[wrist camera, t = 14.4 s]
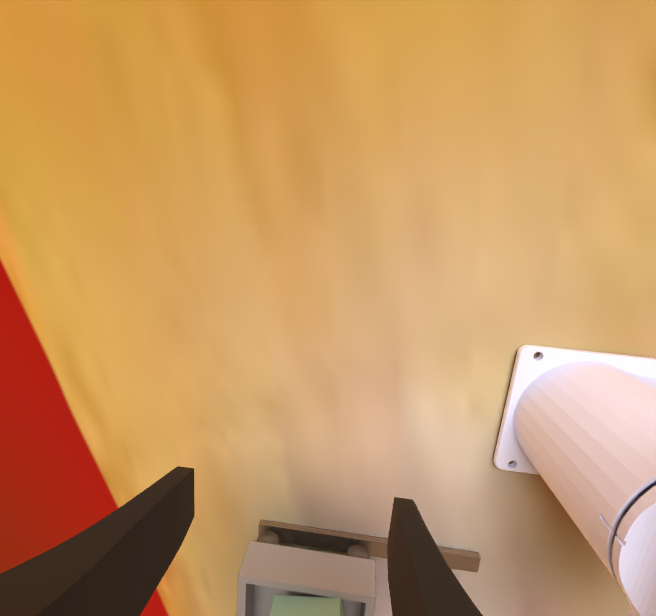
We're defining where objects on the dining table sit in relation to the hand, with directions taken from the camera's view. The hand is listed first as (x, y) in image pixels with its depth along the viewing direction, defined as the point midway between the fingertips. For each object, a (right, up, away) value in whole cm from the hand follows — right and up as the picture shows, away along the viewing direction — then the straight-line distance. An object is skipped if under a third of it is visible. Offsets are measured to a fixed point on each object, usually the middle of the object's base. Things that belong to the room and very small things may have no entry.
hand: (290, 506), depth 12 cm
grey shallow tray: (0, -13, +13) cm, 19 cm away
